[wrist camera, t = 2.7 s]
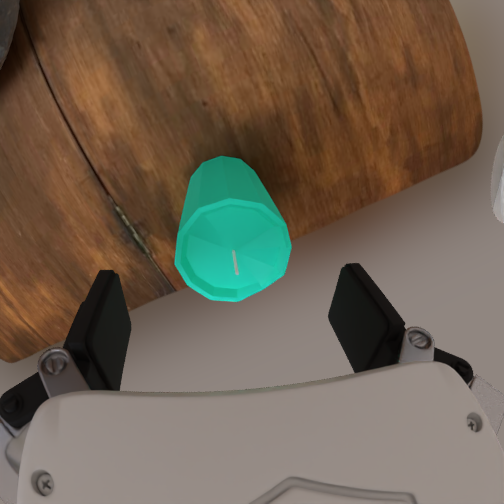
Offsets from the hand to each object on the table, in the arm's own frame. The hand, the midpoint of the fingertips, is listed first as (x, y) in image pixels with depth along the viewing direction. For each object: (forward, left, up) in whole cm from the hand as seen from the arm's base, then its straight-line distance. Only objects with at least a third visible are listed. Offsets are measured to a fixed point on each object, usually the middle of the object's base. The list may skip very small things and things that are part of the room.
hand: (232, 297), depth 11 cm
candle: (0, 0, -14) cm, 14 cm away
